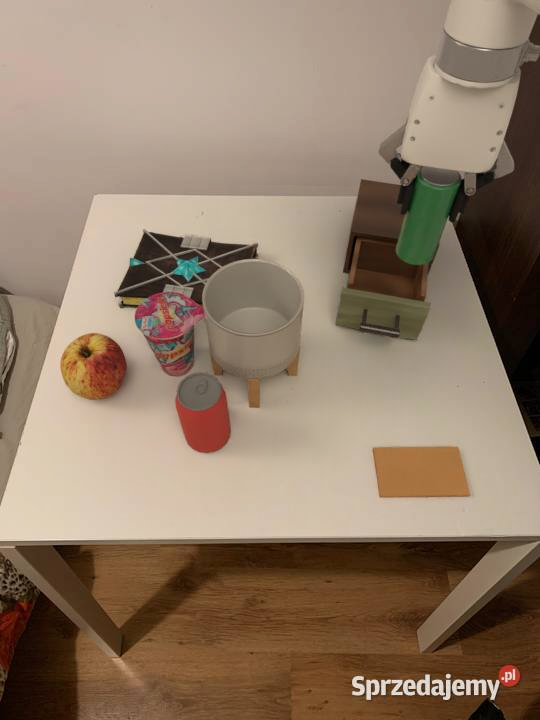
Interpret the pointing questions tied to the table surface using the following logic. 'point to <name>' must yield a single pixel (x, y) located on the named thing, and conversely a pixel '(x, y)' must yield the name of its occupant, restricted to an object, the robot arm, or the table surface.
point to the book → (176, 266)
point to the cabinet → (376, 217)
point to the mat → (420, 472)
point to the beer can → (203, 412)
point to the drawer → (384, 292)
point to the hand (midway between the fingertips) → (428, 210)
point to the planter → (253, 321)
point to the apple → (93, 366)
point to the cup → (170, 329)
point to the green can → (427, 214)
